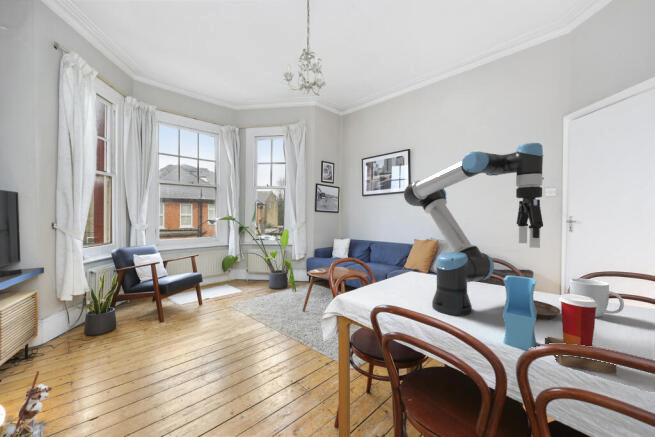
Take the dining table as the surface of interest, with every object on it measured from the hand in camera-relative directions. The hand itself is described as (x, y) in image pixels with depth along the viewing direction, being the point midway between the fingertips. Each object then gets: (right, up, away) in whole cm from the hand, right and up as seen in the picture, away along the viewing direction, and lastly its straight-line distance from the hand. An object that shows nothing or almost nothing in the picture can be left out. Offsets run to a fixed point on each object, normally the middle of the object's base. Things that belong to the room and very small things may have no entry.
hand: (528, 245), depth 95 cm
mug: (+31, -29, +8) cm, 43 cm away
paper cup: (-4, -26, -23) cm, 35 cm away
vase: (-14, -29, -14) cm, 35 cm away
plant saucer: (+10, -29, +11) cm, 32 cm away
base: (-4, -29, -23) cm, 37 cm away
